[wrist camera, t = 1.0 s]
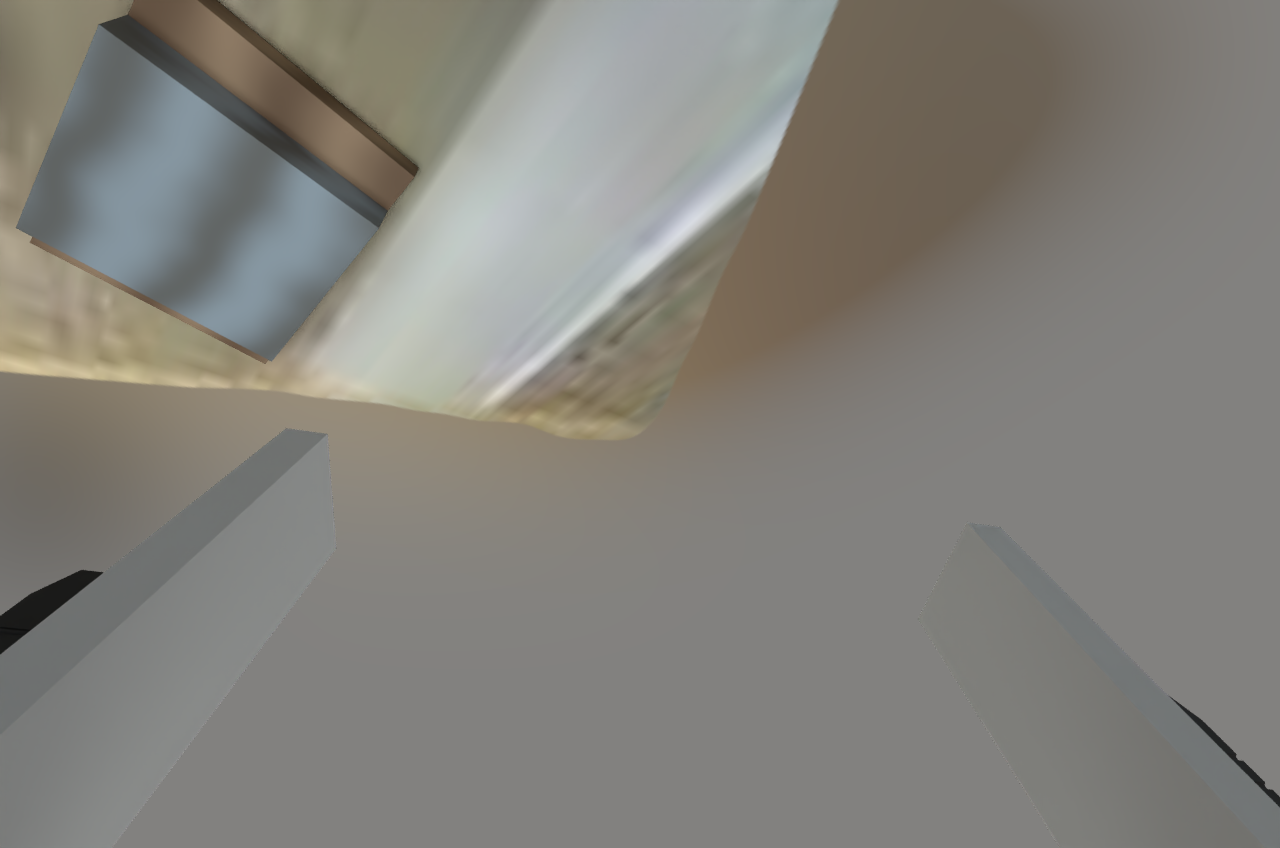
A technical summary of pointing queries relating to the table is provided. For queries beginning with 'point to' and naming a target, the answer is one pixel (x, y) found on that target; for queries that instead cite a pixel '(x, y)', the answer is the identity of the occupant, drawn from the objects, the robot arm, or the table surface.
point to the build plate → (209, 175)
